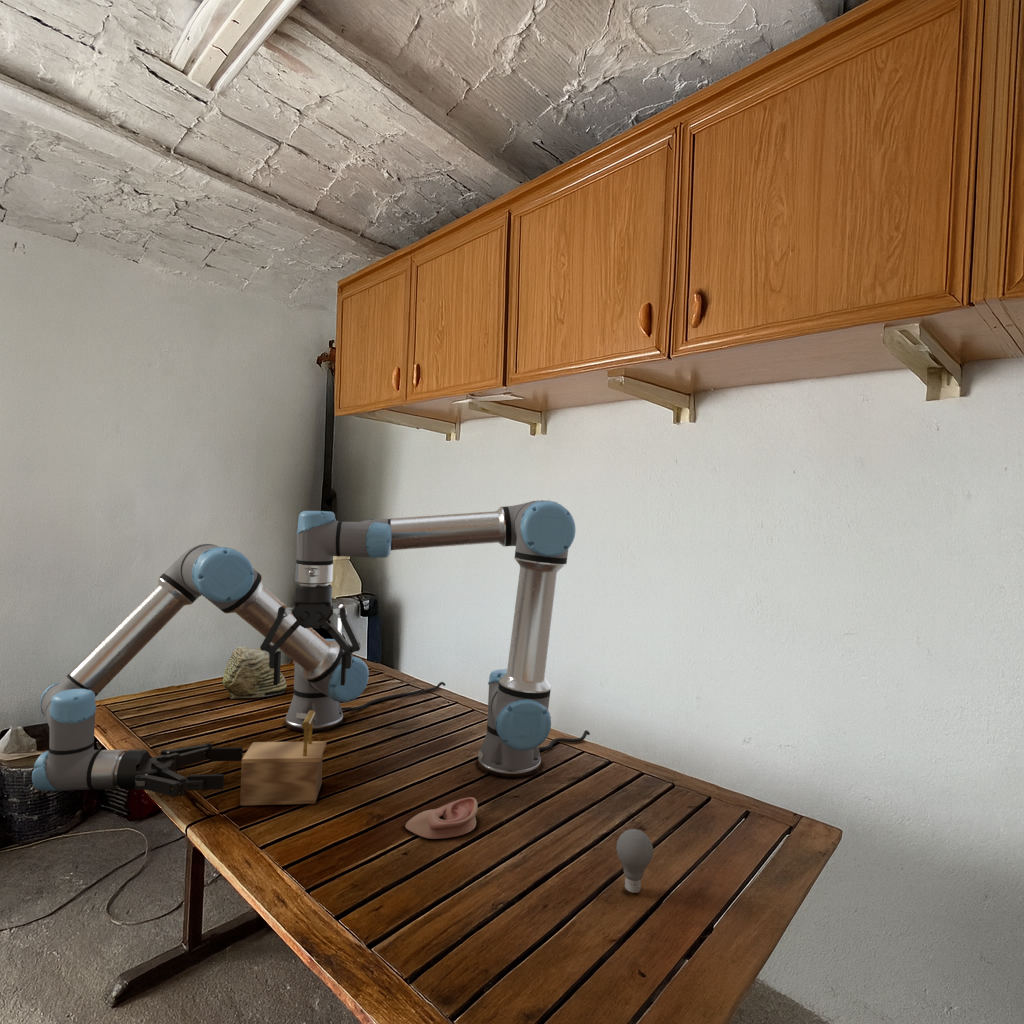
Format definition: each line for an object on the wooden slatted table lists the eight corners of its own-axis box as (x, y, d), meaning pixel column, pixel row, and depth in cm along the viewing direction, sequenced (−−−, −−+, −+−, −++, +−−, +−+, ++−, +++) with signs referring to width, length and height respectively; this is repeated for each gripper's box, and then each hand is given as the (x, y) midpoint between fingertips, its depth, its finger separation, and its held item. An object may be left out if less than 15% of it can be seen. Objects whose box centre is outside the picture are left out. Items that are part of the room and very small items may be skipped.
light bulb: (610, 879, 108) (613, 822, 108) (644, 879, 109) (647, 822, 109) (619, 902, 102) (622, 840, 102) (655, 901, 103) (658, 840, 103)
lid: (326, 745, 140) (327, 708, 139) (320, 761, 131) (321, 723, 131) (252, 746, 137) (254, 709, 137) (241, 763, 128) (243, 723, 128)
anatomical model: (399, 813, 120) (420, 787, 131) (398, 834, 120) (419, 806, 131) (467, 823, 117) (482, 796, 128) (466, 845, 117) (481, 815, 128)
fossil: (218, 695, 195) (220, 647, 195) (278, 685, 208) (279, 640, 207) (228, 703, 189) (230, 653, 188) (289, 692, 201) (290, 645, 201)
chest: (321, 784, 140) (323, 745, 139) (315, 803, 131) (316, 762, 131) (251, 785, 137) (252, 746, 137) (239, 805, 128) (241, 763, 128)
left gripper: (148, 762, 141) (248, 760, 144) (91, 818, 117) (213, 814, 120) (149, 728, 141) (249, 727, 144) (92, 778, 116) (214, 775, 120)
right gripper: (247, 584, 128) (243, 688, 129) (372, 587, 132) (368, 688, 132) (256, 580, 136) (252, 678, 136) (375, 582, 139) (371, 678, 140)
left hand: (233, 767), depth 132 cm, fingers open, 13 cm apart
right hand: (310, 683), depth 134 cm, fingers open, 13 cm apart
